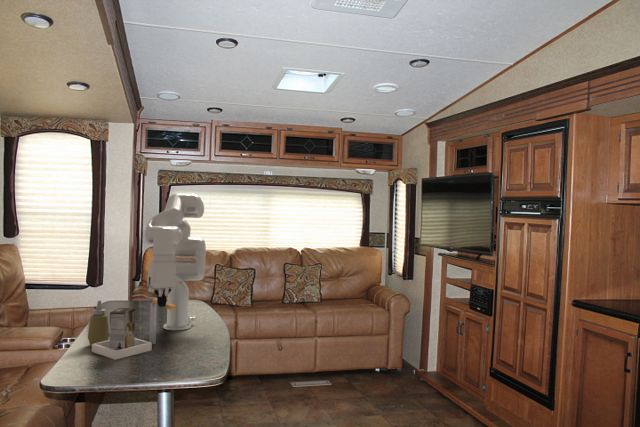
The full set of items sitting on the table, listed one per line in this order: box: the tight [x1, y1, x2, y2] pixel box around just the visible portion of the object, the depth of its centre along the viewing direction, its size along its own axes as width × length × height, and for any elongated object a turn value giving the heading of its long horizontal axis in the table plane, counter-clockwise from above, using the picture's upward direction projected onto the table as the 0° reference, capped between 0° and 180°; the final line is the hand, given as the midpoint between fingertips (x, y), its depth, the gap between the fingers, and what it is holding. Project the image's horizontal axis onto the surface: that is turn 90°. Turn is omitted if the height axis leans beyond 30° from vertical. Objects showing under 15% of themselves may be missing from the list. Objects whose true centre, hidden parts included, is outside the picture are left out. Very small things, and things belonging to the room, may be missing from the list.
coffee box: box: [108, 307, 136, 351], centre depth 191 cm, size 9×6×16 cm
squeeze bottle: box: [87, 300, 110, 347], centre depth 198 cm, size 8×8×18 cm
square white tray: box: [91, 302, 157, 361], centre depth 194 cm, size 23×16×17 cm
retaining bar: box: [148, 296, 176, 310], centre depth 196 cm, size 21×3×2 cm, turn 41°
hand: (161, 306), depth 190 cm, fingers closed
